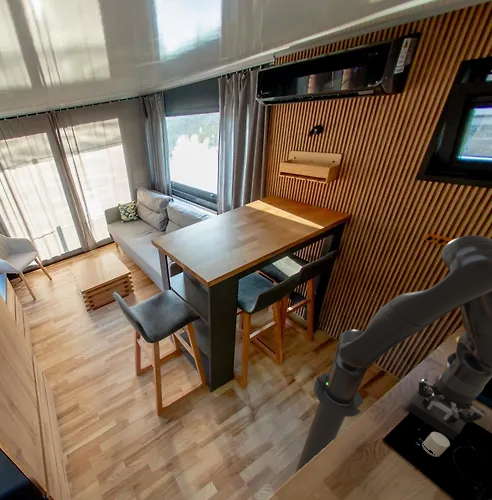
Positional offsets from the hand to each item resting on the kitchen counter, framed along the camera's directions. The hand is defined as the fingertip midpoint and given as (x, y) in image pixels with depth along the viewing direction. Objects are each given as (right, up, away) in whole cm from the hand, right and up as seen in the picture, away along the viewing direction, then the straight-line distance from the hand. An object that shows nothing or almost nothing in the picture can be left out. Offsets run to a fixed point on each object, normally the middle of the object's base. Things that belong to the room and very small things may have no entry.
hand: (437, 412), depth 85 cm
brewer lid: (+3, 0, +2) cm, 3 cm away
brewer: (+4, -3, +4) cm, 7 cm away
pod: (-6, -10, -3) cm, 12 cm away
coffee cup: (+17, +3, +11) cm, 21 cm away
